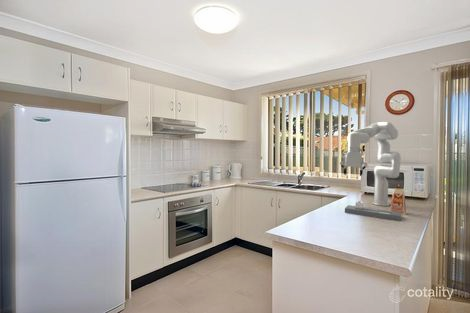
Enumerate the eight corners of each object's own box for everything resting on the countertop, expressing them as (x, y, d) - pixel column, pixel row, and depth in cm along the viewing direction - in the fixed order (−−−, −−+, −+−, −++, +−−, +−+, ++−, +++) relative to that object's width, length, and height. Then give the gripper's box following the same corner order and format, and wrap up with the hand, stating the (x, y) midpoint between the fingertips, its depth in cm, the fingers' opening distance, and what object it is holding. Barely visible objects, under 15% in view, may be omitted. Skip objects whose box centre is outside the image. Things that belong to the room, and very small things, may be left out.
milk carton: (405, 215, 170) (406, 185, 169) (389, 212, 175) (390, 183, 175) (406, 212, 177) (407, 184, 176) (390, 210, 183) (392, 182, 182)
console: (347, 209, 182) (348, 205, 182) (401, 216, 164) (401, 212, 164) (344, 212, 172) (344, 208, 172) (400, 221, 154) (401, 216, 154)
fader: (356, 206, 176) (356, 200, 175) (362, 207, 173) (363, 201, 173) (355, 208, 171) (355, 201, 171) (361, 208, 169) (362, 202, 169)
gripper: (368, 150, 172) (367, 176, 172) (341, 150, 181) (340, 174, 182) (367, 150, 166) (366, 176, 166) (339, 149, 175) (338, 174, 175)
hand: (352, 175), depth 174 cm, fingers open, 9 cm apart
